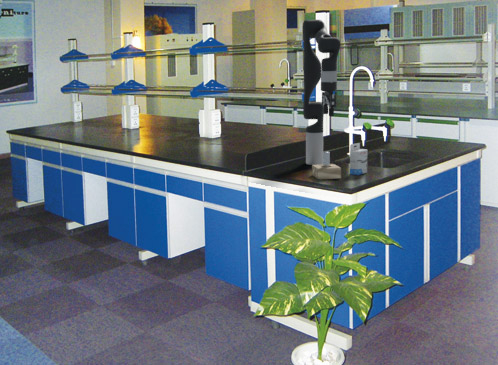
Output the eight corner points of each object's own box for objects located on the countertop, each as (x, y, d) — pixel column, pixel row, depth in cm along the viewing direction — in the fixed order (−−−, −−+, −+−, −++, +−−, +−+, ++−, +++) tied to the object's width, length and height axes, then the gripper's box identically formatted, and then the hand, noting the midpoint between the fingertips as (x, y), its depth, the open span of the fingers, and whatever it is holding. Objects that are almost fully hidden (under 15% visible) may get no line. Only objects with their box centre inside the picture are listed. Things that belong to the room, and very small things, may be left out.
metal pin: (322, 176, 295) (322, 151, 292) (328, 175, 295) (328, 151, 293) (324, 177, 292) (324, 152, 289) (330, 177, 292) (330, 152, 290)
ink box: (357, 175, 295) (358, 145, 292) (349, 174, 298) (349, 144, 295) (367, 172, 301) (368, 143, 298) (359, 171, 304) (359, 142, 301)
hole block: (312, 175, 298) (312, 165, 297) (333, 173, 300) (333, 163, 299) (318, 179, 287) (318, 169, 286) (340, 178, 289) (341, 167, 288)
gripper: (316, 80, 293) (316, 113, 296) (325, 81, 279) (325, 117, 283) (331, 79, 294) (331, 113, 298) (341, 81, 280) (340, 116, 284)
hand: (328, 114), depth 290 cm, fingers open, 8 cm apart
